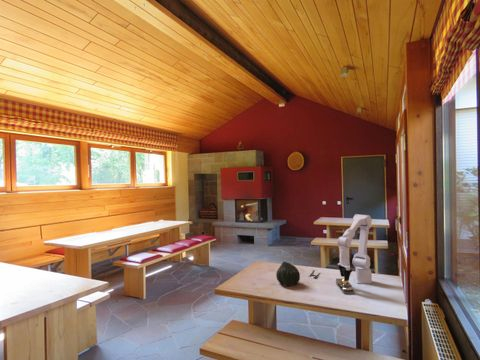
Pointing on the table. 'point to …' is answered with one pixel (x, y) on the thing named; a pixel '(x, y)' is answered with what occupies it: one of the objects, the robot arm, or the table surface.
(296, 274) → the squash
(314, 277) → the hacksaw
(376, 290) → the table surface
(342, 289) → the chain ends
